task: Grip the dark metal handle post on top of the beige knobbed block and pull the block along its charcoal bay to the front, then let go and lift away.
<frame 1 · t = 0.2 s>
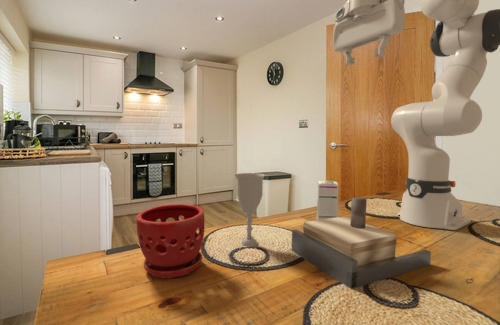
hand: (363, 60, 74), 47 cm above the table, tool pointing down, fingers open, 8 cm apart
beige knobbed block: (347, 230, 60), point 8 cm above the table, slide at 0.0 cm
chalice: (249, 248, 69), on the table
bay: (356, 262, 62), on the table
syrup box: (326, 231, 82), on the table
plant pot: (172, 269, 58), on the table
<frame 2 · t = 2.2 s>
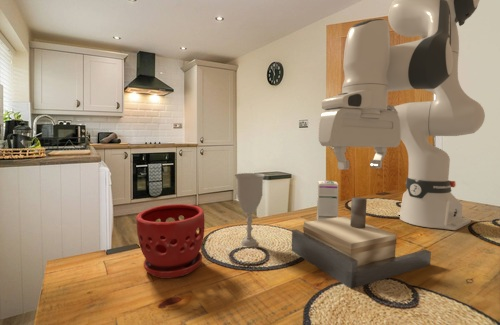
hand: (360, 168, 60), 21 cm above the table, tool pointing down, fingers open, 8 cm apart
nothing on the table moved.
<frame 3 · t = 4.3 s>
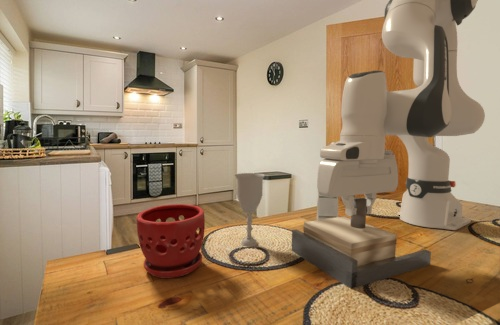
hand: (358, 214, 61), 11 cm above the table, tool pointing down, fingers closed on beige knobbed block, 3 cm apart
beige knobbed block: (347, 230, 60), point 8 cm above the table, slide at 0.0 cm, touching gripper
everything else where it was.
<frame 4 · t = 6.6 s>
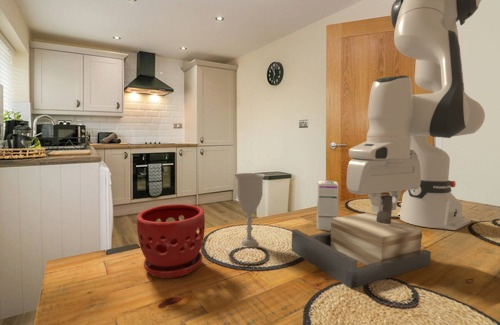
hand: (384, 210, 64), 11 cm above the table, tool pointing down, fingers closed on beige knobbed block, 3 cm apart
beige knobbed block: (374, 225, 63), point 8 cm above the table, slide at 8.1 cm, touching gripper
everything else where it was.
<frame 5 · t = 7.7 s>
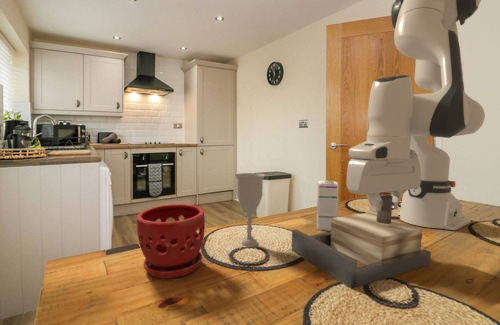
hand: (384, 210, 64), 11 cm above the table, tool pointing down, fingers open, 4 cm apart
beige knobbed block: (374, 225, 63), point 8 cm above the table, slide at 8.1 cm
everything else where it was.
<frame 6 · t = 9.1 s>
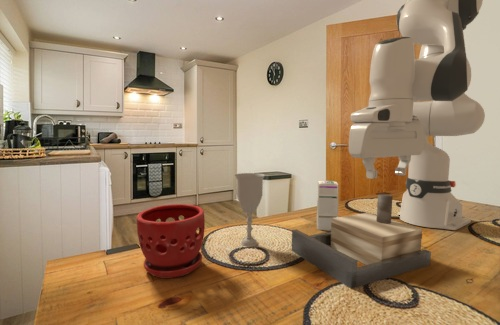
hand: (386, 176, 64), 19 cm above the table, tool pointing down, fingers open, 8 cm apart
nothing on the table moved.
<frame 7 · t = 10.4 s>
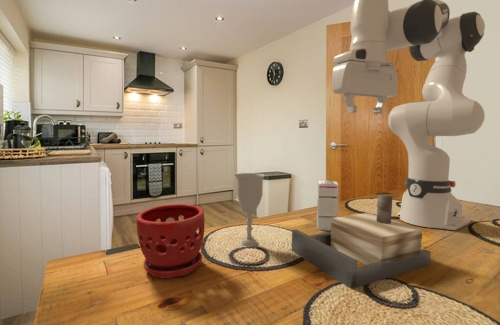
hand: (365, 113, 73), 33 cm above the table, tool pointing down, fingers open, 8 cm apart
nothing on the table moved.
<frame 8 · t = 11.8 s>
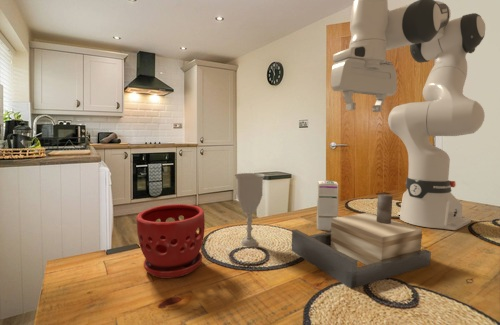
hand: (364, 111, 74), 34 cm above the table, tool pointing down, fingers open, 8 cm apart
nothing on the table moved.
at the end: beige knobbed block slide at 8.1 cm; the gripper is holding nothing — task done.
